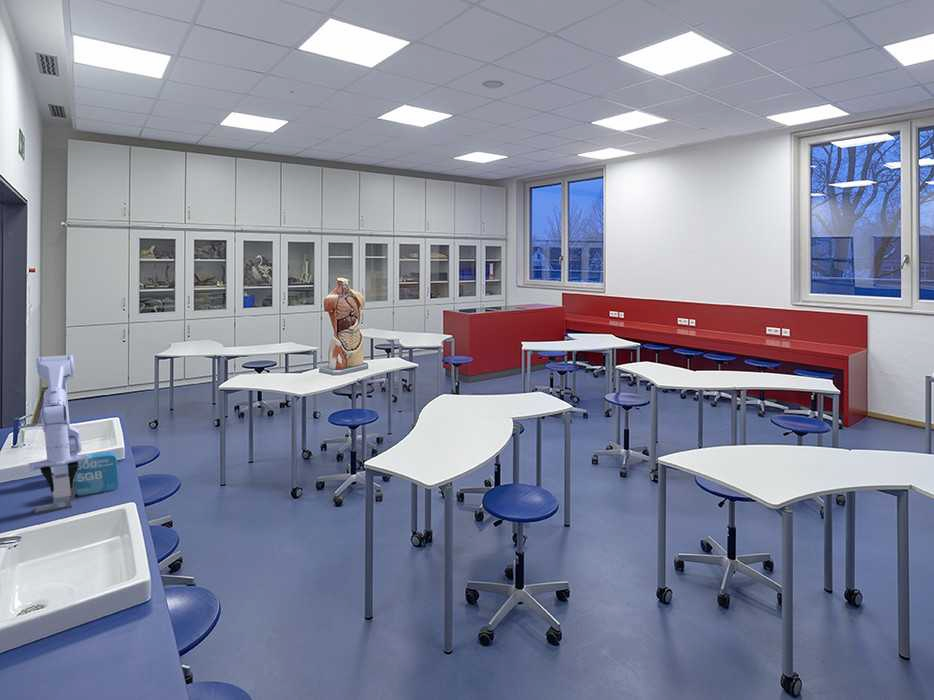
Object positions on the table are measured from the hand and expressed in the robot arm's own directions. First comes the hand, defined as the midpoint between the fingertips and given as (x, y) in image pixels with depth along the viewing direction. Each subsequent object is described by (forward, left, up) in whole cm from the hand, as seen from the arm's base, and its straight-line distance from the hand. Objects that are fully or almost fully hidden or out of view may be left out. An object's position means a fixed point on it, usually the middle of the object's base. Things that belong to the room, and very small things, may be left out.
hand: (61, 488), depth 180 cm
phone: (0, -2, -6) cm, 7 cm away
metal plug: (0, 0, -2) cm, 2 cm away
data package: (-9, +10, -6) cm, 15 cm away
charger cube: (-8, +1, -6) cm, 10 cm away
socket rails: (-9, 0, -6) cm, 10 cm away
